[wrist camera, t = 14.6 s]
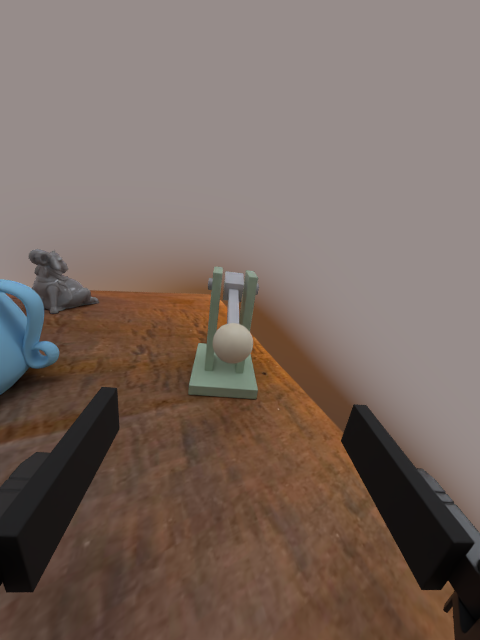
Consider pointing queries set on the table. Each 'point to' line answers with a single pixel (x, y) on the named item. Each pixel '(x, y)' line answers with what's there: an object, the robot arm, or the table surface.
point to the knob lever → (233, 324)
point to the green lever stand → (208, 368)
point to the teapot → (21, 334)
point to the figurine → (57, 283)
